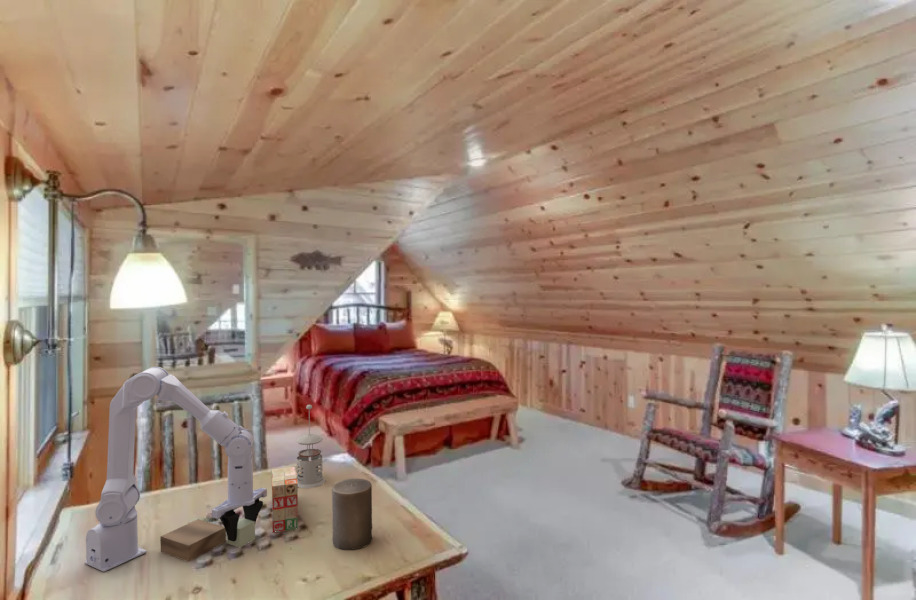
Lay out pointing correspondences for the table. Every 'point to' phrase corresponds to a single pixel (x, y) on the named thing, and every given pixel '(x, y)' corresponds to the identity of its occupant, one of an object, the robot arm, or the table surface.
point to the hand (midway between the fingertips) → (241, 535)
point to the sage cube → (244, 533)
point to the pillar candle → (352, 513)
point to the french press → (309, 468)
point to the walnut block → (193, 539)
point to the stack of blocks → (284, 499)
